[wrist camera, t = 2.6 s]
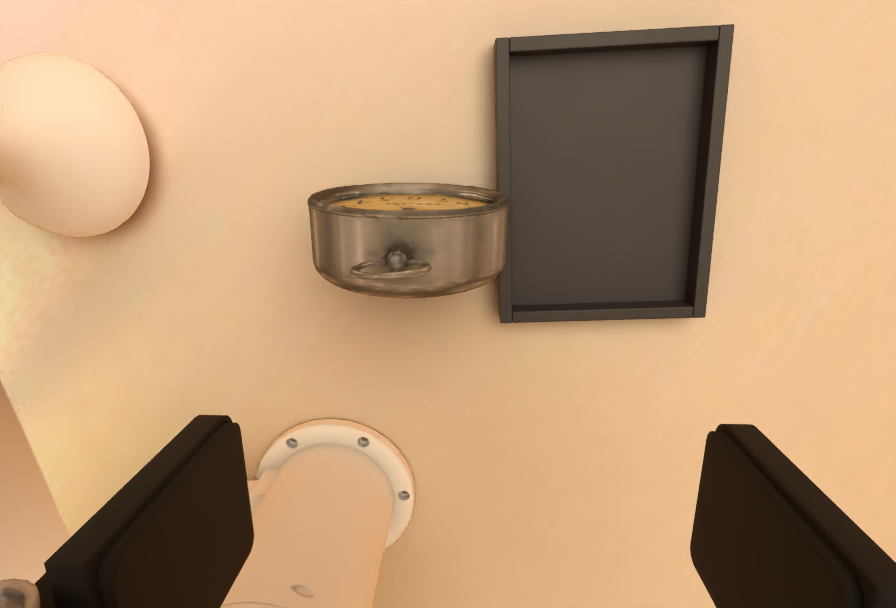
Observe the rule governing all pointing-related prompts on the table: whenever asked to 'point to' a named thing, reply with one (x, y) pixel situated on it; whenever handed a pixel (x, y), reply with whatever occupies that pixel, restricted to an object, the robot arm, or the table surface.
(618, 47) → the tray
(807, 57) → the table surface
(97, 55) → the table surface
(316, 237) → the alarm clock
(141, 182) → the flower in vase
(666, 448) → the table surface
